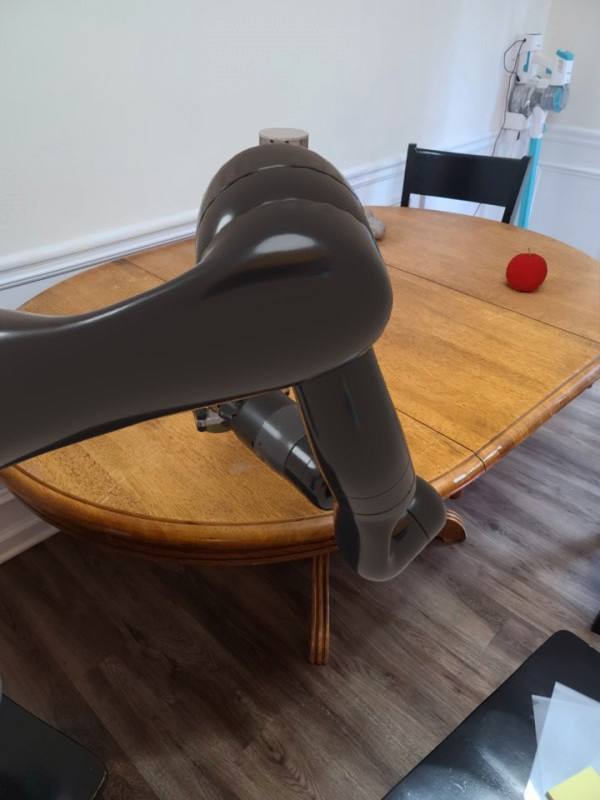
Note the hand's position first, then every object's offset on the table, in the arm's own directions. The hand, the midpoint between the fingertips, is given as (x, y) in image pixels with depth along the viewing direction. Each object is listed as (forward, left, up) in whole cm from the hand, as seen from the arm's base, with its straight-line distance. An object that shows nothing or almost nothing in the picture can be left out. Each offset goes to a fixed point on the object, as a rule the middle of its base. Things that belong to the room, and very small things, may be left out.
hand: (204, 368), depth 74 cm
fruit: (+94, +9, -17) cm, 96 cm away
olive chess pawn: (0, -3, -7) cm, 7 cm away
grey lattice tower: (+43, +39, -17) cm, 61 cm away
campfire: (+85, +61, -17) cm, 106 cm away
